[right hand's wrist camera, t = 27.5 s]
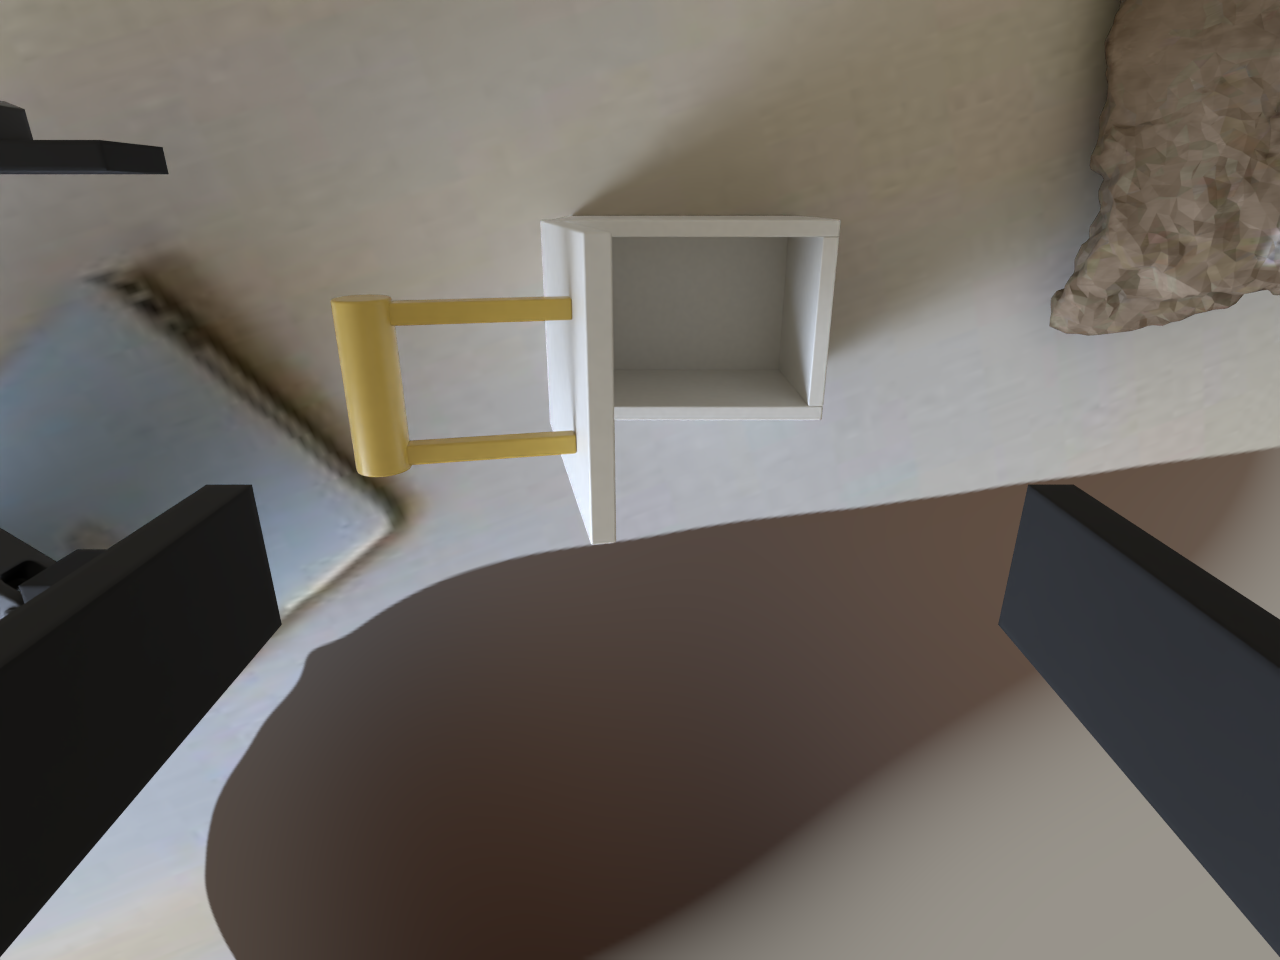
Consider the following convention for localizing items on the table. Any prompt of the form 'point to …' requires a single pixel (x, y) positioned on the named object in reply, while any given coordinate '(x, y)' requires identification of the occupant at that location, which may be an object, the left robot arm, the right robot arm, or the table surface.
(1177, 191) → the stone
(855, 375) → the table surface
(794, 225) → the chest
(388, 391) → the lid
